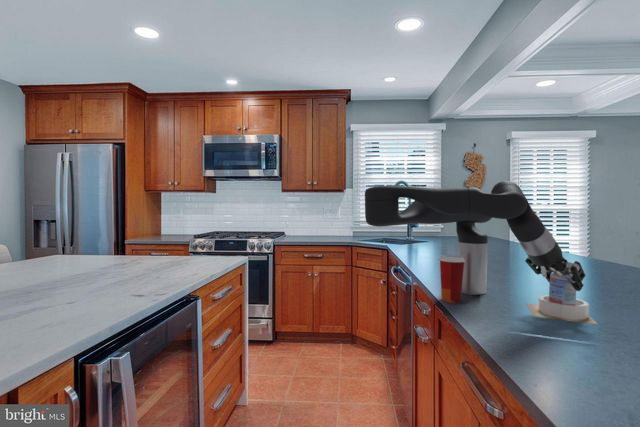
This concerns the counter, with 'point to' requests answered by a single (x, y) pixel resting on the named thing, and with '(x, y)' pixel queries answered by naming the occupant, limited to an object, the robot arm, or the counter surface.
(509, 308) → the counter surface
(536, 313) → the mat
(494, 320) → the counter surface
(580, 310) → the dish
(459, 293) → the paper cup
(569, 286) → the pill bottle
